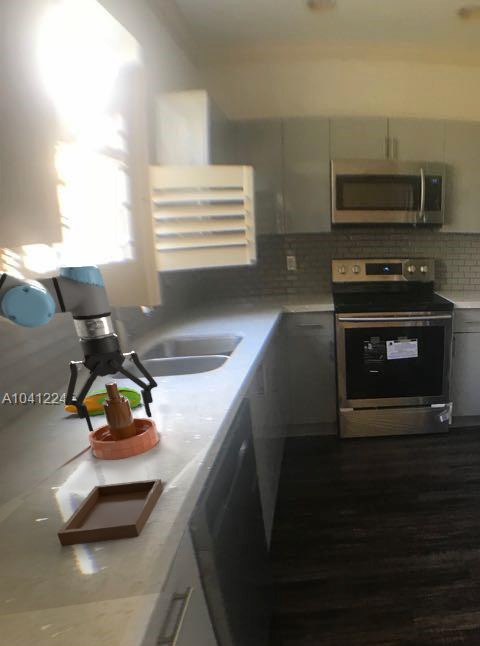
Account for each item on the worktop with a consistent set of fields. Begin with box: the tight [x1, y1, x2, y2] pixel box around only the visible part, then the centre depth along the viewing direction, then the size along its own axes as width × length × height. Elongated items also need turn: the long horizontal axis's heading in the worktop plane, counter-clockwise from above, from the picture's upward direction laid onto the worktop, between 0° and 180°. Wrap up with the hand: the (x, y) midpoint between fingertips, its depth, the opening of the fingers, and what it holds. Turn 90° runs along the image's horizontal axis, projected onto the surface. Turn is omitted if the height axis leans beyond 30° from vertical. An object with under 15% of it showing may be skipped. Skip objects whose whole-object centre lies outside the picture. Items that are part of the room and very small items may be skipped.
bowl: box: [88, 417, 160, 461], centre depth 113 cm, size 14×14×5 cm
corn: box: [64, 386, 142, 418], centre depth 135 cm, size 7×8×20 cm
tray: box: [56, 478, 164, 547], centre depth 87 cm, size 16×13×3 cm
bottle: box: [102, 381, 137, 441], centre depth 111 cm, size 6×6×16 cm
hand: (120, 422), depth 112 cm, fingers open, 12 cm apart
